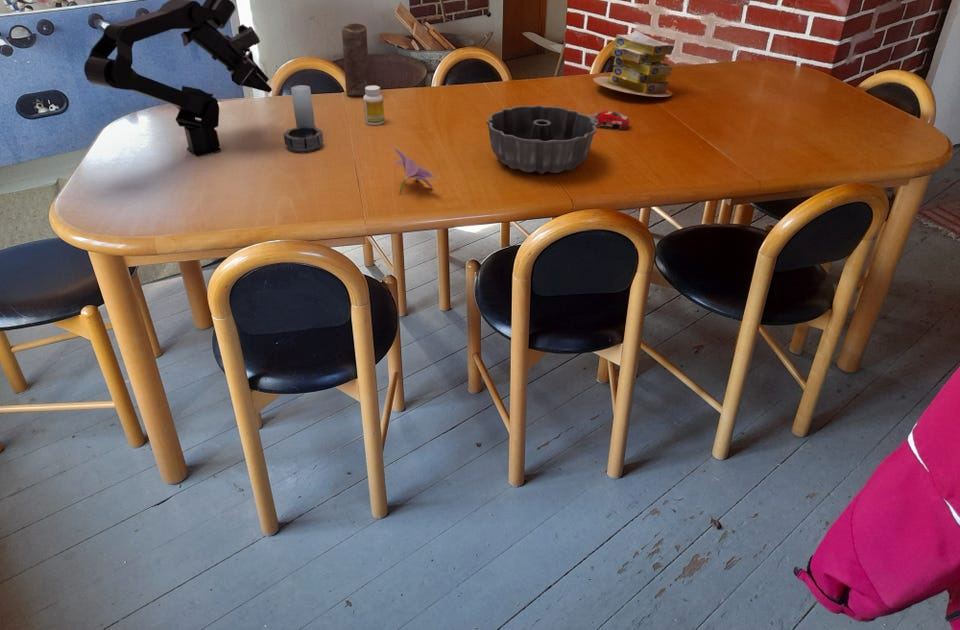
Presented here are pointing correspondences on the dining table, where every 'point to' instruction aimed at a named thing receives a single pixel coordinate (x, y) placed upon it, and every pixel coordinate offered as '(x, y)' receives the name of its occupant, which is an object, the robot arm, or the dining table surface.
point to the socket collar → (303, 139)
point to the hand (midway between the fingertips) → (269, 85)
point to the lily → (413, 169)
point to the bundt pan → (541, 138)
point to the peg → (303, 106)
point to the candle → (355, 59)
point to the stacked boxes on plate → (639, 66)
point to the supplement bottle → (373, 106)
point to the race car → (610, 120)
